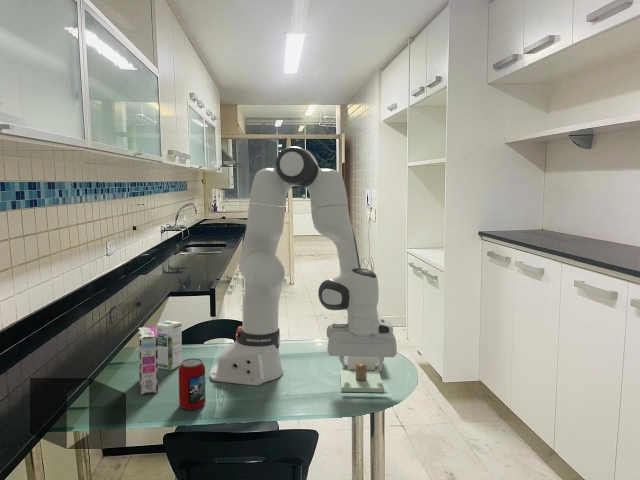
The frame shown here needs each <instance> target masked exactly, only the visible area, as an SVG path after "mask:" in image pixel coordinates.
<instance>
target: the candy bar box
mask: <svg viewBox="0 0 640 480" xmlns="http://www.w3.org/2000/svg"><path fill="white" fill-rule="evenodd" d="M137 335H138V338H137V339H138V341H137V342H138V378H139V380H138V381H139V392H140V394H139V395H141V396H144V395H149V394H150V395H151V394H157V393H158V392H159V368H158V344H157V329H156V326H155V325H154V326H144V327H138V334H137Z"/></svg>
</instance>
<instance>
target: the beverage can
mask: <svg viewBox="0 0 640 480" xmlns="http://www.w3.org/2000/svg"><path fill="white" fill-rule="evenodd" d="M178 398H179V399H178V402H179V403H178V404H179V406H180V407H181V408H183V409H185V410H190V411H191V410H195V409H196V410H197V409H200V408H201V407H202V406H204V404H205V403H206V366H205V364H204V363H203V360H202V359H201V358H197V357H195V358H194V357H193V358H187V359H184V360H182V362H181V365H180V366H178Z"/></svg>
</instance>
